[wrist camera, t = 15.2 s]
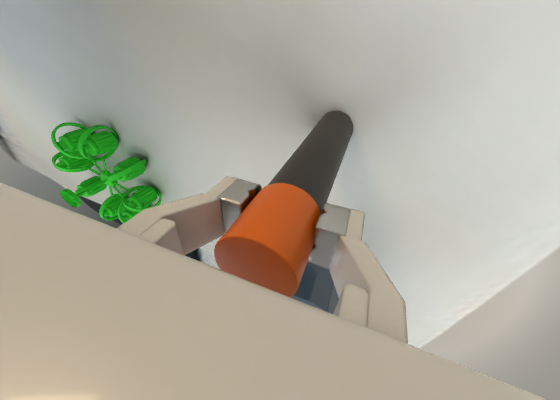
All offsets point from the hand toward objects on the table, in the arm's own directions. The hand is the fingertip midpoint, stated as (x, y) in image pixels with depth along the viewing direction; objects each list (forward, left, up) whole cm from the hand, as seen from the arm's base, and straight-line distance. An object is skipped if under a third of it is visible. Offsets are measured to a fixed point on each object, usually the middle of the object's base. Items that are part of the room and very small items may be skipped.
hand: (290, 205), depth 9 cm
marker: (0, 0, -11) cm, 10 cm away
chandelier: (-27, -11, -11) cm, 31 cm away
